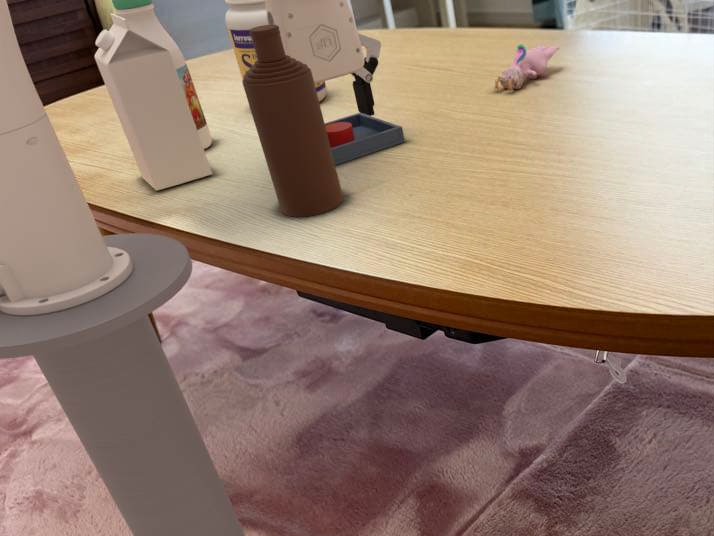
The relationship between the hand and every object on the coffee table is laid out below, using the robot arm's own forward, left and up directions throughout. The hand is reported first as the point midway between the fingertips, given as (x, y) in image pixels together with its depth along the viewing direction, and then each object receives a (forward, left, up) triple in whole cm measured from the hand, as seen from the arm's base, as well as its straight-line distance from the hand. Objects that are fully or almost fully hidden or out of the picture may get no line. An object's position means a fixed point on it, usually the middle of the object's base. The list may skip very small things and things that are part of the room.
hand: (334, 123), depth 104 cm
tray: (0, 0, -3) cm, 3 cm away
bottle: (-12, -15, -3) cm, 20 cm away
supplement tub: (+6, +28, -3) cm, 29 cm away
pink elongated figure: (+35, +3, -3) cm, 35 cm away
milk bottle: (-14, +20, -3) cm, 25 cm away
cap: (0, 0, -1) cm, 1 cm away
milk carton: (-19, +9, -3) cm, 21 cm away
